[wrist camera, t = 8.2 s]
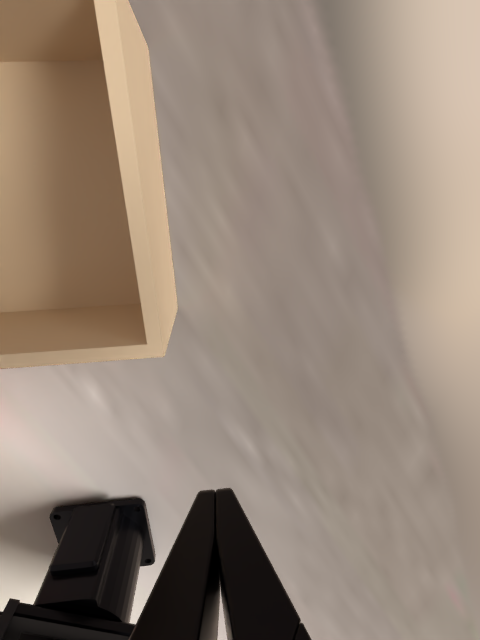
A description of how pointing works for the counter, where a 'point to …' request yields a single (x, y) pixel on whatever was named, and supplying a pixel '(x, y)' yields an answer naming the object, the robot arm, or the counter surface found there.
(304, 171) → the counter surface
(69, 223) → the wooden box
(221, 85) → the counter surface
